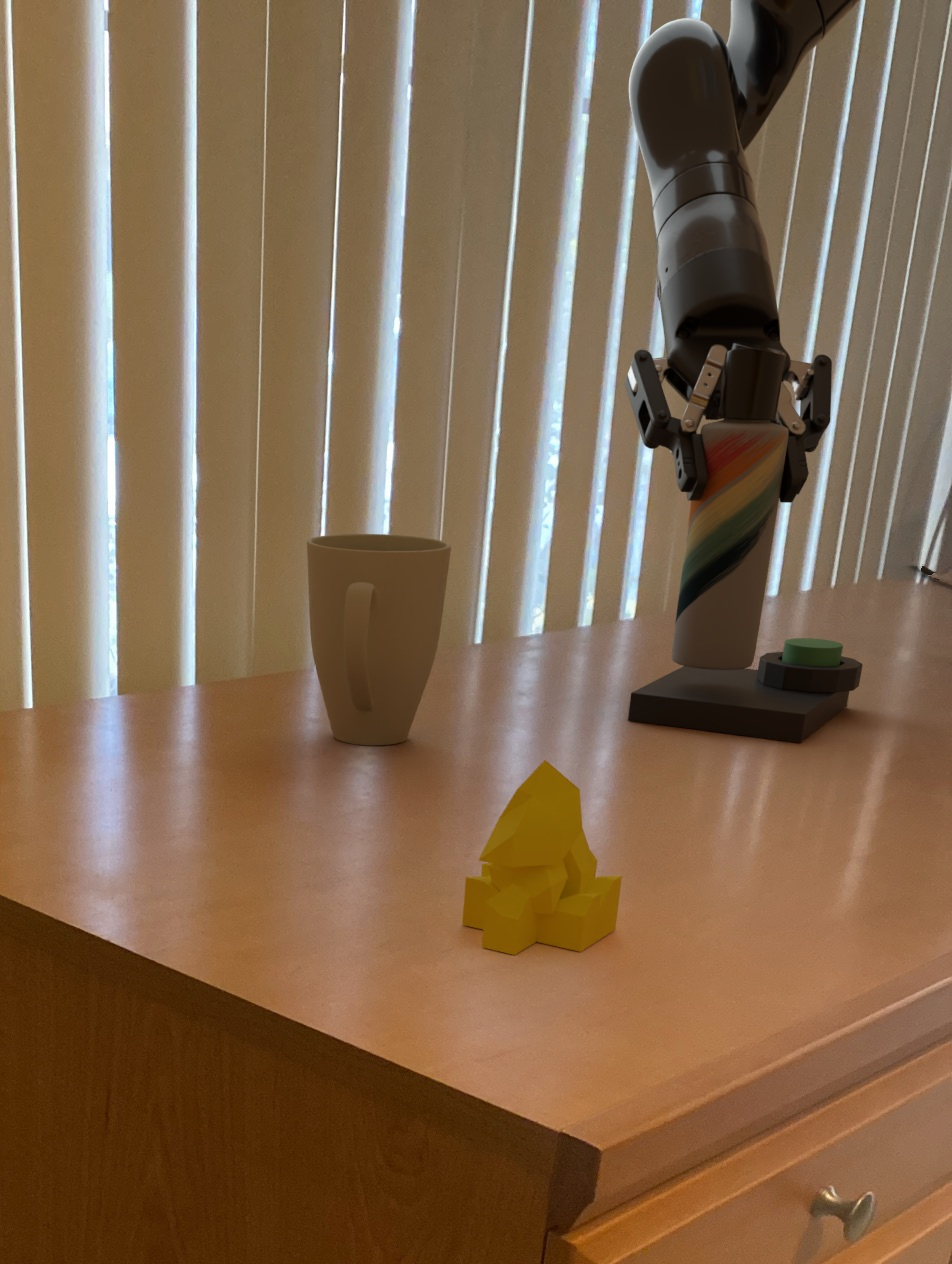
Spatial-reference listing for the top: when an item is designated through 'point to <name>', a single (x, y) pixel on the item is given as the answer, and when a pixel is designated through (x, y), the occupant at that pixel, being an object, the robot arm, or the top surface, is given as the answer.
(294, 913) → the top surface
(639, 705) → the scale
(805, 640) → the button
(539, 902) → the yellow faceted pointed figurine
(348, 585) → the mug
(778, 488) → the lotion bottle
